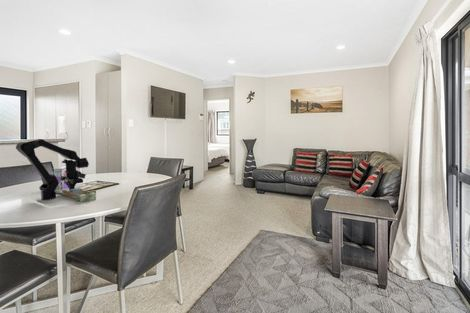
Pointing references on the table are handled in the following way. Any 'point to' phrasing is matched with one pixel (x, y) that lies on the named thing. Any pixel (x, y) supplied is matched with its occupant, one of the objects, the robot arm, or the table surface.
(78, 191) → the block
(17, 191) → the table surface
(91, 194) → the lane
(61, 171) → the candy box
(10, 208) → the table surface
